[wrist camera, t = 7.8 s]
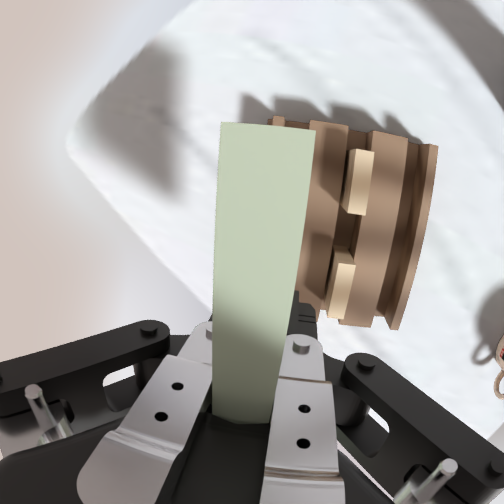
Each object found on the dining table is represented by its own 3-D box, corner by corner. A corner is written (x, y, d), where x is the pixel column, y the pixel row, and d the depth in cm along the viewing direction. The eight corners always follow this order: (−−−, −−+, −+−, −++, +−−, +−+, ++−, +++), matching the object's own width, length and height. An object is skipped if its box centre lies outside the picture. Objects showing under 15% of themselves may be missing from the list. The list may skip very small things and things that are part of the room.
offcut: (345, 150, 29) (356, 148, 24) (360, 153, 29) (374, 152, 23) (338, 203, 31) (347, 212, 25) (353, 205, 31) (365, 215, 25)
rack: (269, 120, 31) (264, 114, 27) (428, 148, 29) (444, 148, 25) (251, 294, 37) (244, 311, 33) (394, 312, 35) (404, 330, 31)
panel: (283, 128, 16) (221, 121, 4) (304, 131, 16) (315, 131, 4) (258, 353, 23) (216, 526, 10) (273, 355, 23) (241, 531, 10)
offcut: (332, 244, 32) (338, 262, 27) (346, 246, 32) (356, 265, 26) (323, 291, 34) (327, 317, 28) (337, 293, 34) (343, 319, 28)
